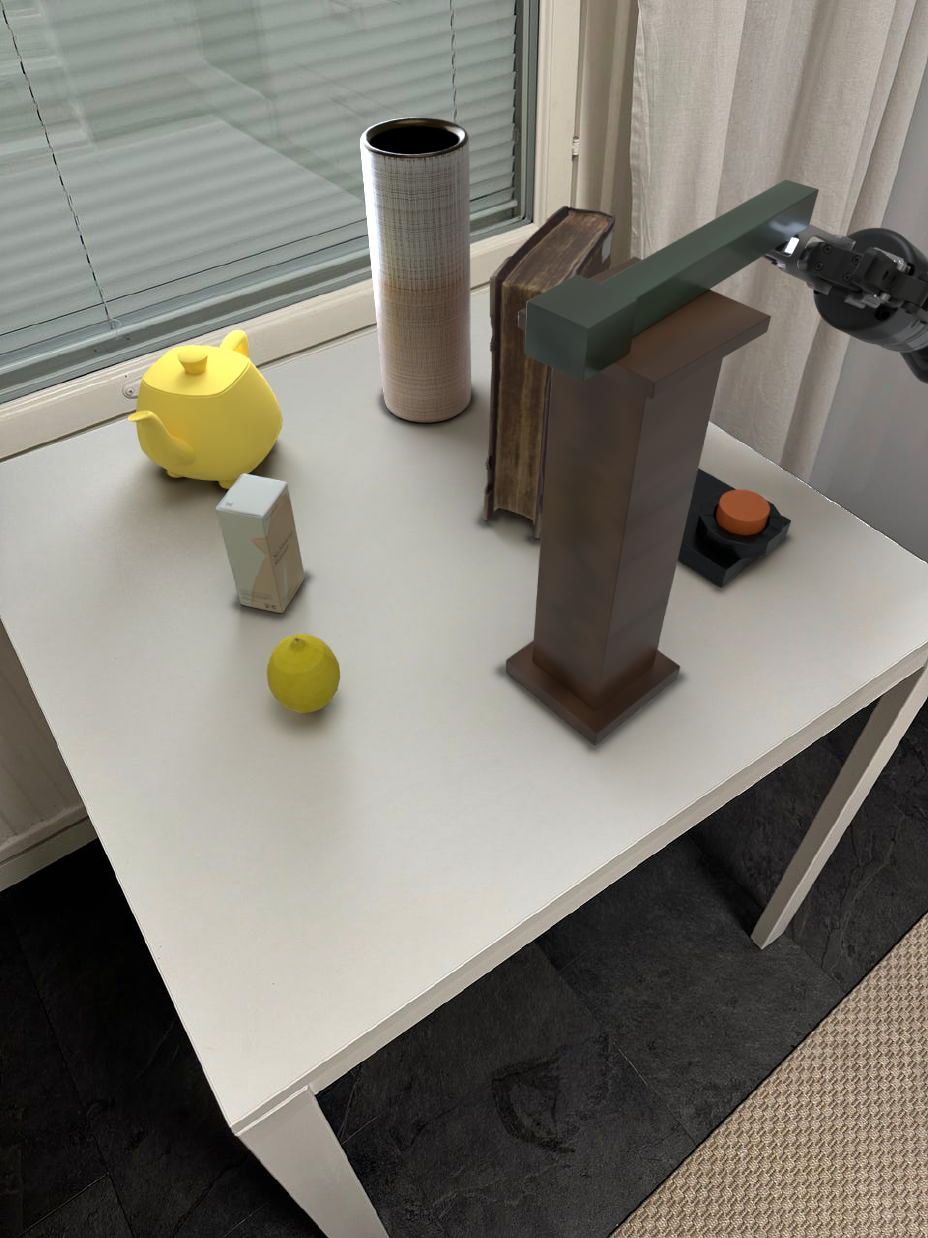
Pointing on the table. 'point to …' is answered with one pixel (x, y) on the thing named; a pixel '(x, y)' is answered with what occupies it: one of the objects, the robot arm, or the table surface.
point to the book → (523, 381)
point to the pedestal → (622, 511)
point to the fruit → (303, 673)
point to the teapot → (207, 412)
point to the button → (742, 512)
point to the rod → (658, 283)
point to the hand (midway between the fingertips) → (805, 242)
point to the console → (723, 535)
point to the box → (261, 542)
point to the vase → (420, 263)
